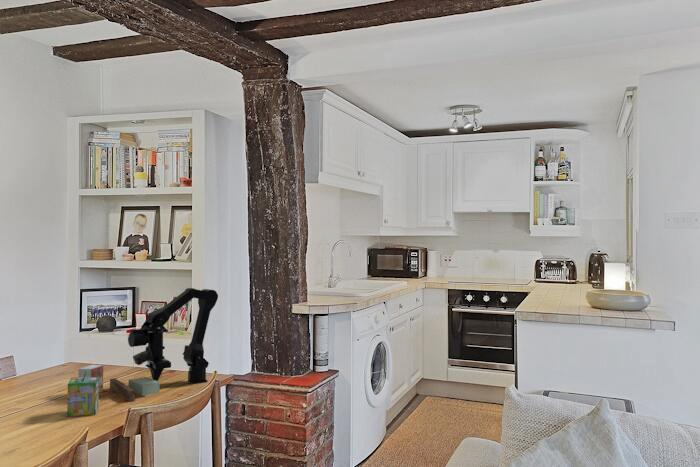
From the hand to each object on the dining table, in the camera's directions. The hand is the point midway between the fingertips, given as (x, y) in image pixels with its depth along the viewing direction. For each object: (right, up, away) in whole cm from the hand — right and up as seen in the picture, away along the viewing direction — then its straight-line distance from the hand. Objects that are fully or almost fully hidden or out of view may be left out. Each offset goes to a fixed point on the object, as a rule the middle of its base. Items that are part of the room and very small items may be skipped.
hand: (155, 382), depth 237 cm
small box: (-23, -3, -7) cm, 24 cm away
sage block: (-3, -3, -3) cm, 5 cm away
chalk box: (-15, -3, -32) cm, 35 cm away
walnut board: (-10, -3, -8) cm, 13 cm away
